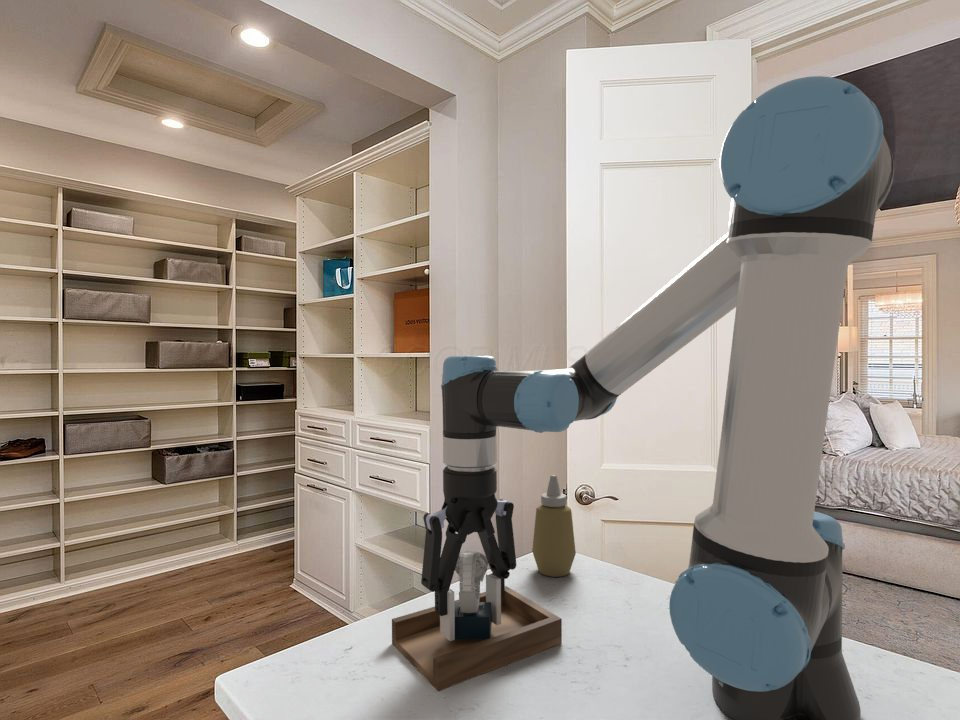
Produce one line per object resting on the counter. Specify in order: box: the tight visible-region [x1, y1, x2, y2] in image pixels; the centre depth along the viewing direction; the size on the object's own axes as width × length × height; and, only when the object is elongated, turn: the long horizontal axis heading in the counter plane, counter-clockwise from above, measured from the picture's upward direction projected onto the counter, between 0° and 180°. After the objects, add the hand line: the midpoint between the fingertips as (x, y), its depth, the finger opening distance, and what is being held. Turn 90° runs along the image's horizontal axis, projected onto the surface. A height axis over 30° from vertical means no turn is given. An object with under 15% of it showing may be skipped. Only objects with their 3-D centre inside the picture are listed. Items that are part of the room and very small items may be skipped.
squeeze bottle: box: [531, 474, 577, 578], centre depth 105 cm, size 8×8×18 cm
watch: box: [454, 550, 492, 640], centre depth 79 cm, size 6×8×11 cm
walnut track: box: [391, 585, 563, 692], centre depth 80 cm, size 13×20×4 cm
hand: (471, 628), depth 79 cm, fingers closed on watch, 7 cm apart
